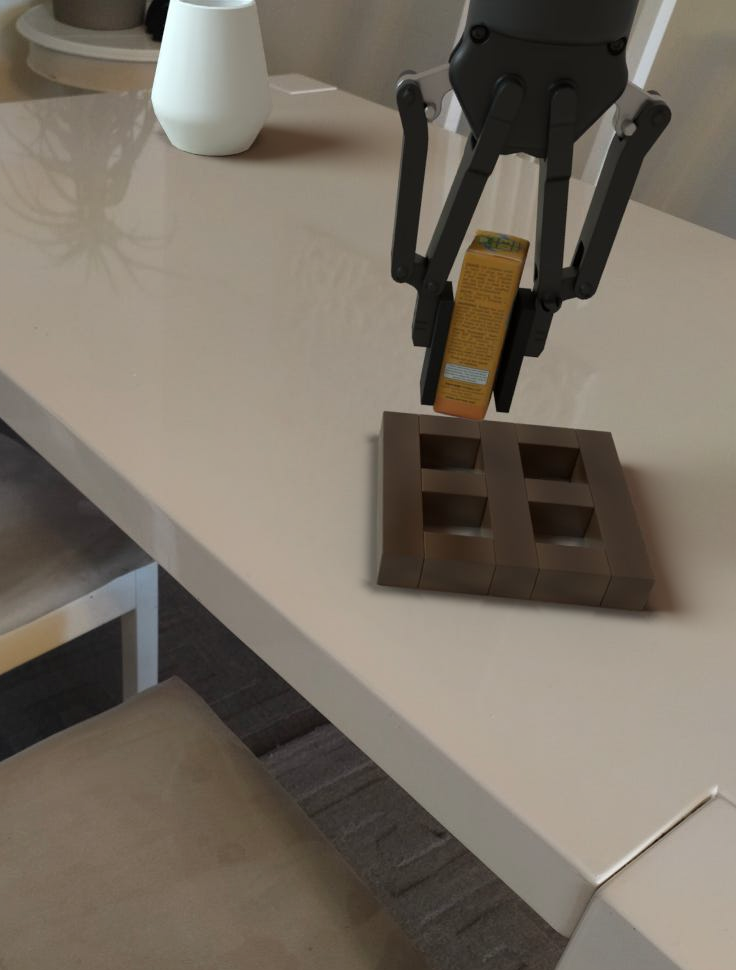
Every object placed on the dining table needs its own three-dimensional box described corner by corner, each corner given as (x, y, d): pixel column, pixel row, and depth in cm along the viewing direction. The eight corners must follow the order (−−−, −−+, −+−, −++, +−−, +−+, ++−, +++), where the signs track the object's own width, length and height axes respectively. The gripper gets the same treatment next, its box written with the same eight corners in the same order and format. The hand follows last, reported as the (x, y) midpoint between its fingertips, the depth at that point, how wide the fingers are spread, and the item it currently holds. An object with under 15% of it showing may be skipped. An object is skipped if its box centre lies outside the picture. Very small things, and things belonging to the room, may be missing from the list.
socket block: (598, 469, 67) (611, 431, 65) (638, 619, 56) (655, 580, 54) (377, 448, 67) (383, 410, 65) (374, 592, 57) (381, 553, 54)
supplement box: (487, 425, 58) (523, 259, 51) (430, 414, 59) (458, 249, 52) (496, 398, 60) (532, 235, 53) (442, 387, 61) (469, 226, 54)
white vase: (127, 136, 110) (121, -9, 101) (217, 115, 117) (220, -23, 107) (204, 171, 104) (205, 19, 94) (294, 147, 110) (304, 3, 101)
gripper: (377, -76, 40) (322, 416, 57) (789, -43, 40) (613, 445, 56) (379, -103, 46) (328, 354, 62) (741, -74, 45) (593, 379, 62)
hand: (463, 396), depth 59 cm, fingers closed on supplement box, 4 cm apart
